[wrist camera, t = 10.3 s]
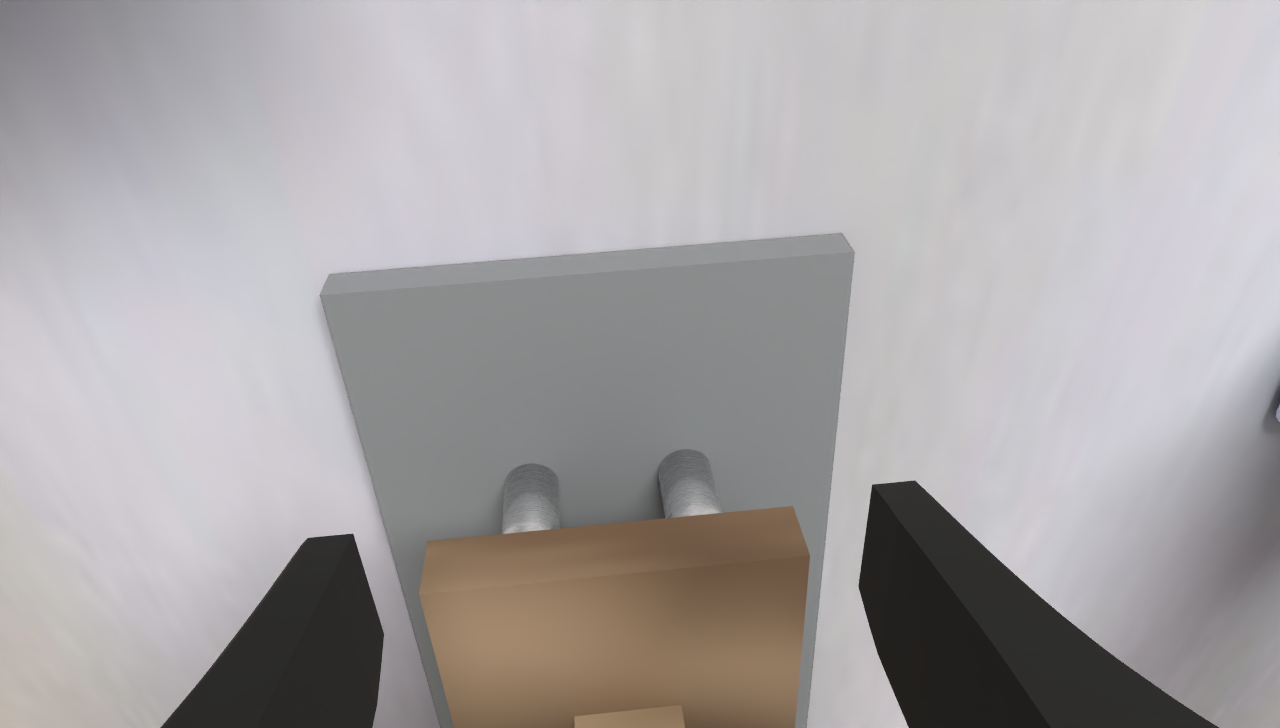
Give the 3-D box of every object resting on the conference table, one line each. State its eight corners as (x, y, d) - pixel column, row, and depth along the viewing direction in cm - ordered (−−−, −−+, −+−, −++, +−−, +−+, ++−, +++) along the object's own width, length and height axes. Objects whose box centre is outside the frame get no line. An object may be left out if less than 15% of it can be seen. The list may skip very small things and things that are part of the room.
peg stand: (842, 233, 21) (907, 331, 17) (793, 769, 33) (825, 895, 29) (329, 274, 20) (280, 385, 16) (471, 805, 32) (462, 939, 29)
